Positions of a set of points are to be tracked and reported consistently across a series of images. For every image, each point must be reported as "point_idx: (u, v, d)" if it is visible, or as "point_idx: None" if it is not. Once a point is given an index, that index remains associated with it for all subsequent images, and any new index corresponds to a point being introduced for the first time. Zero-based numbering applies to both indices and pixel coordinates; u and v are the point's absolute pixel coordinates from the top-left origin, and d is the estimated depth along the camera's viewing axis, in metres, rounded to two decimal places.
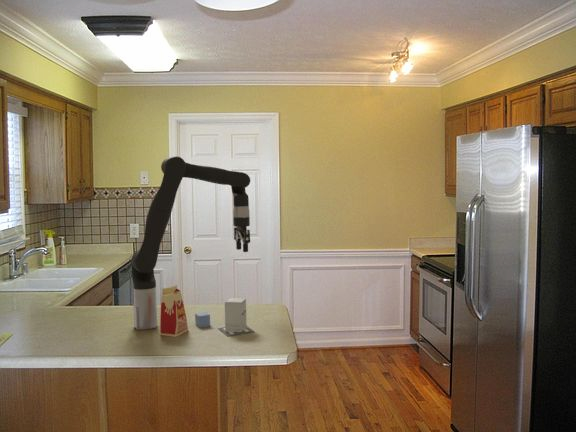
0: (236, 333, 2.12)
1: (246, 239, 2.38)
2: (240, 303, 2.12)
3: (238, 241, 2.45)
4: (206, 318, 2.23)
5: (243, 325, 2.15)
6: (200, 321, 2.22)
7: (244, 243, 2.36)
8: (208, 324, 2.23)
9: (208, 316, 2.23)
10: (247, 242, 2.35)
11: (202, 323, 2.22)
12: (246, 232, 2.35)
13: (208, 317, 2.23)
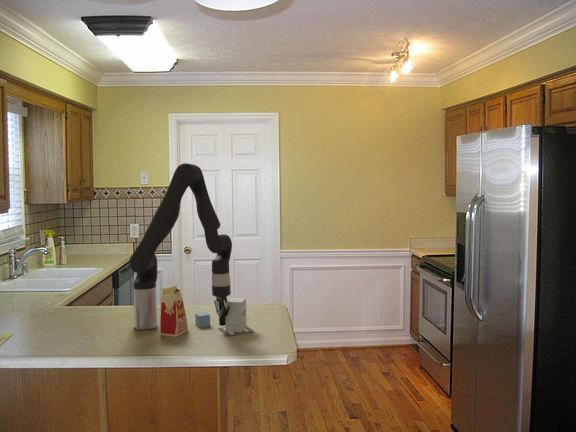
0: (236, 333, 2.12)
1: None
2: (240, 303, 2.12)
3: None
4: (206, 318, 2.23)
5: (243, 325, 2.15)
6: (200, 321, 2.22)
7: None
8: (208, 324, 2.23)
9: (208, 316, 2.23)
10: (224, 315, 2.10)
11: (202, 323, 2.22)
12: (225, 309, 2.08)
13: (208, 317, 2.23)
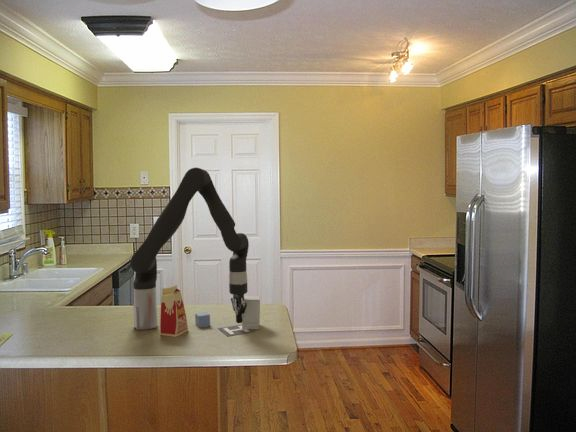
0: (236, 333, 2.12)
1: None
2: (258, 300, 2.16)
3: None
4: (206, 318, 2.23)
5: None
6: (200, 321, 2.22)
7: (238, 314, 2.15)
8: (208, 324, 2.23)
9: (208, 316, 2.23)
10: (241, 313, 2.14)
11: (202, 323, 2.22)
12: (242, 307, 2.11)
13: (208, 317, 2.23)
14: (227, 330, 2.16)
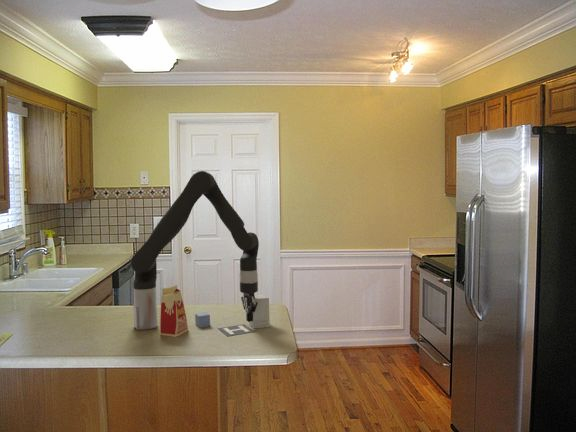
0: (236, 333, 2.12)
1: None
2: (268, 298, 2.20)
3: None
4: (206, 318, 2.23)
5: None
6: (200, 321, 2.22)
7: (248, 312, 2.17)
8: (208, 324, 2.23)
9: (208, 316, 2.23)
10: (251, 311, 2.16)
11: (202, 323, 2.22)
12: (253, 305, 2.13)
13: (208, 317, 2.23)
14: (227, 330, 2.16)
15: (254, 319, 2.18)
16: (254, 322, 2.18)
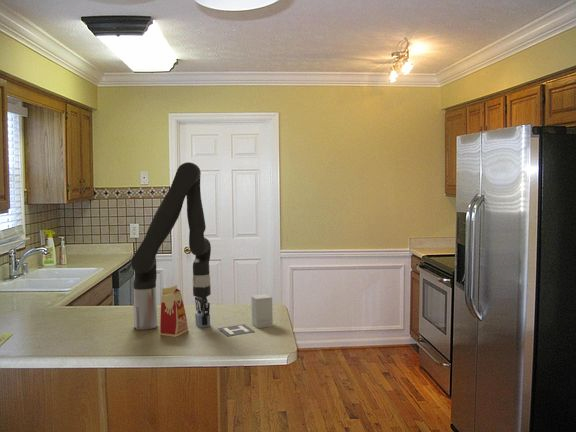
0: (236, 333, 2.12)
1: (206, 311, 2.22)
2: (271, 298, 2.20)
3: None
4: None
5: None
6: (200, 321, 2.22)
7: (203, 316, 2.21)
8: (208, 324, 2.23)
9: (208, 316, 2.23)
10: (206, 315, 2.19)
11: None
12: (206, 306, 2.18)
13: (208, 317, 2.23)
14: (227, 330, 2.16)
15: (257, 319, 2.19)
16: (257, 322, 2.19)
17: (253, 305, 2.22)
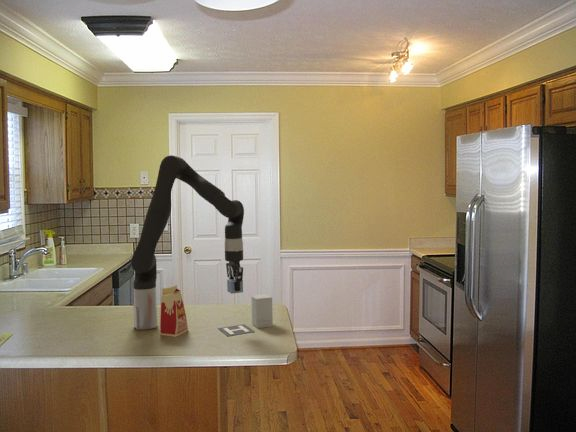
0: (236, 333, 2.12)
1: (238, 276, 2.13)
2: (271, 298, 2.20)
3: None
4: None
5: None
6: (233, 287, 2.12)
7: (236, 281, 2.11)
8: (241, 290, 2.14)
9: (241, 282, 2.14)
10: (239, 280, 2.10)
11: (234, 289, 2.13)
12: (239, 271, 2.09)
13: (241, 283, 2.14)
14: (227, 330, 2.16)
15: (257, 319, 2.19)
16: (257, 322, 2.19)
17: (253, 305, 2.22)
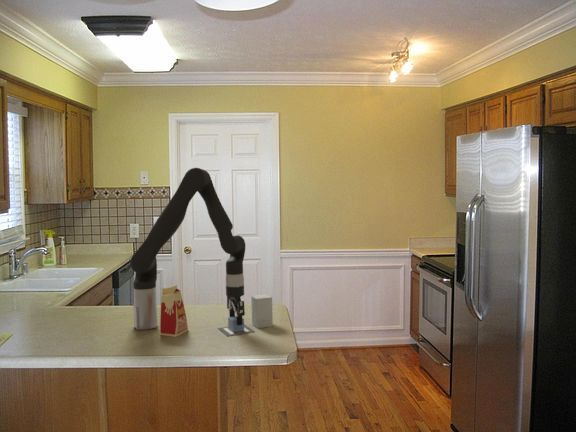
0: (236, 333, 2.12)
1: (240, 311, 2.13)
2: (271, 298, 2.20)
3: (231, 311, 2.20)
4: None
5: None
6: (234, 325, 2.14)
7: (238, 316, 2.11)
8: (242, 328, 2.15)
9: (242, 320, 2.15)
10: (241, 315, 2.10)
11: (236, 327, 2.14)
12: (240, 304, 2.09)
13: (242, 321, 2.15)
14: (227, 330, 2.16)
15: (257, 319, 2.19)
16: (257, 322, 2.19)
17: (252, 305, 2.22)
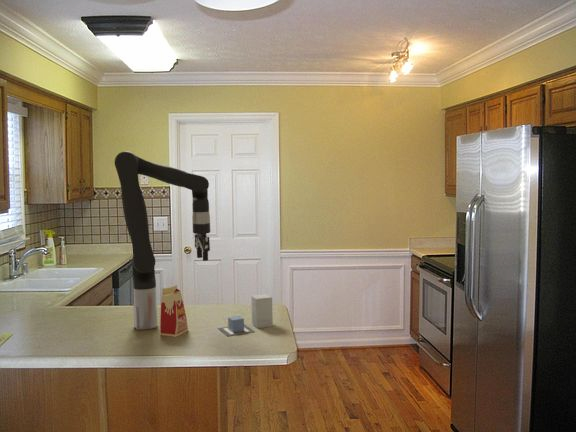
0: (236, 333, 2.12)
1: (206, 247, 2.23)
2: (271, 298, 2.20)
3: (199, 249, 2.30)
4: (240, 322, 2.15)
5: None
6: (234, 325, 2.14)
7: (203, 251, 2.22)
8: (242, 328, 2.15)
9: (242, 320, 2.15)
10: (206, 250, 2.20)
11: (236, 327, 2.14)
12: (205, 240, 2.20)
13: (242, 321, 2.15)
14: (227, 330, 2.16)
15: (257, 319, 2.19)
16: (257, 322, 2.19)
17: (253, 305, 2.22)
